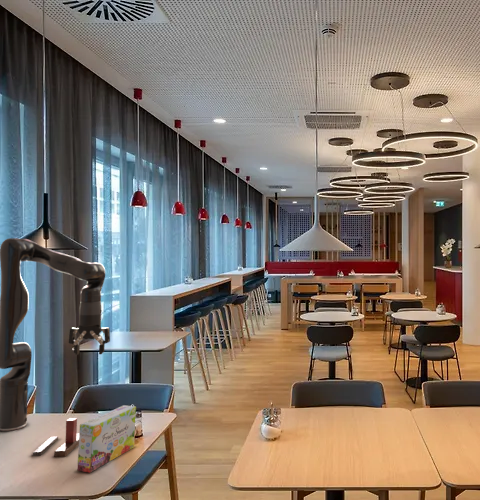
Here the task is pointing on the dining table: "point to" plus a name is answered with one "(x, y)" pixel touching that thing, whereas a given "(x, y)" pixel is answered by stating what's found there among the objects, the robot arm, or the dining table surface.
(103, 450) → the snack box
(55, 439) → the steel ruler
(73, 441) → the stamp
